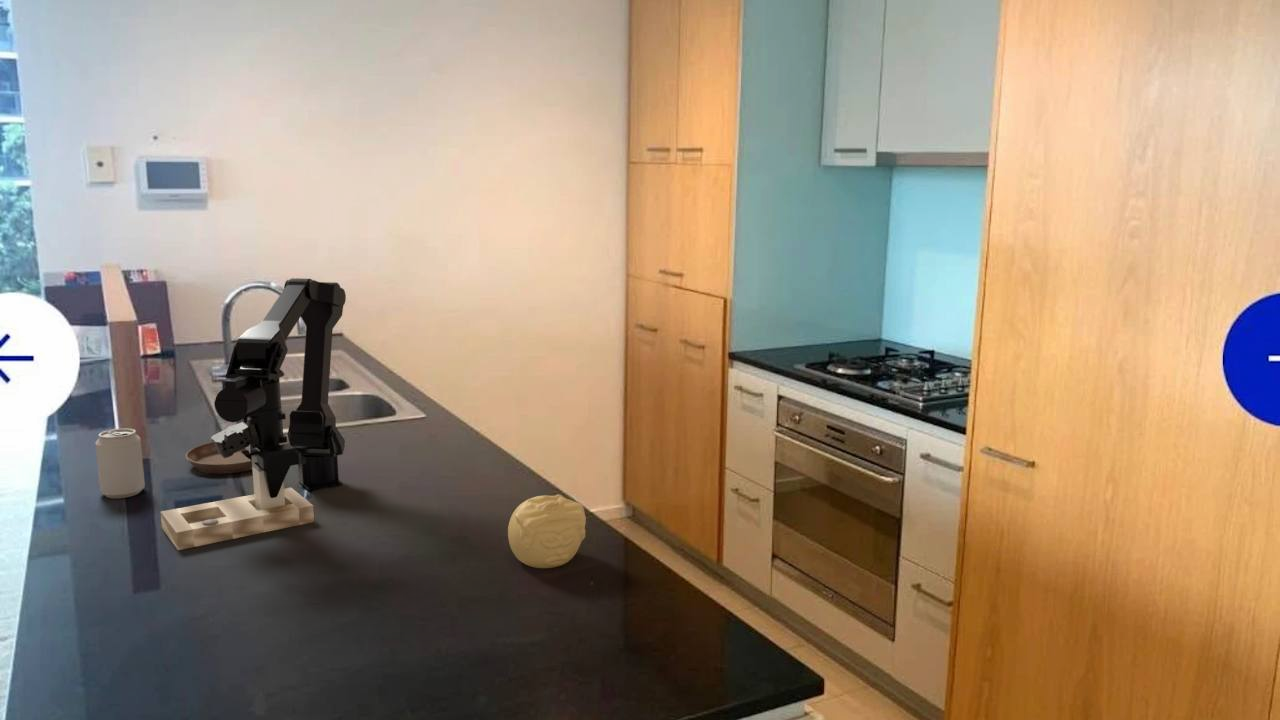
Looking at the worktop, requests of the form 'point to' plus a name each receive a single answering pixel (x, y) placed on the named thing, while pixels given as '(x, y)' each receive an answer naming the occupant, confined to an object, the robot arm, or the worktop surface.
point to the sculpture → (546, 531)
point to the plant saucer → (217, 460)
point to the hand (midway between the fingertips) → (269, 494)
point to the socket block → (232, 519)
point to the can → (120, 463)
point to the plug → (264, 489)
